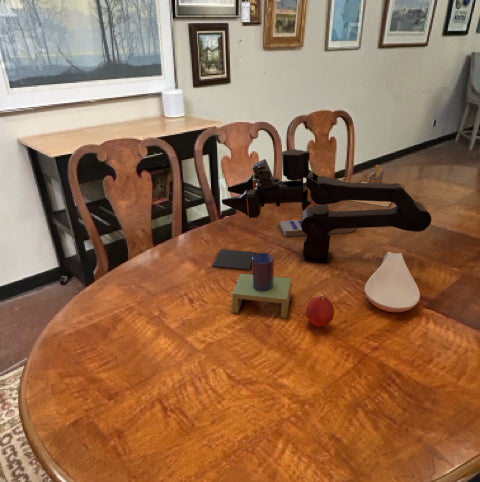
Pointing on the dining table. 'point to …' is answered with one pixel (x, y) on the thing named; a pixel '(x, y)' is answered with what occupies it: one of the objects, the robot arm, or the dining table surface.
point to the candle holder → (263, 272)
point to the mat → (234, 259)
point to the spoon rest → (392, 285)
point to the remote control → (295, 228)
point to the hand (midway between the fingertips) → (224, 195)
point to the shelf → (262, 293)
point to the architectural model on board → (376, 178)
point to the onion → (320, 311)
